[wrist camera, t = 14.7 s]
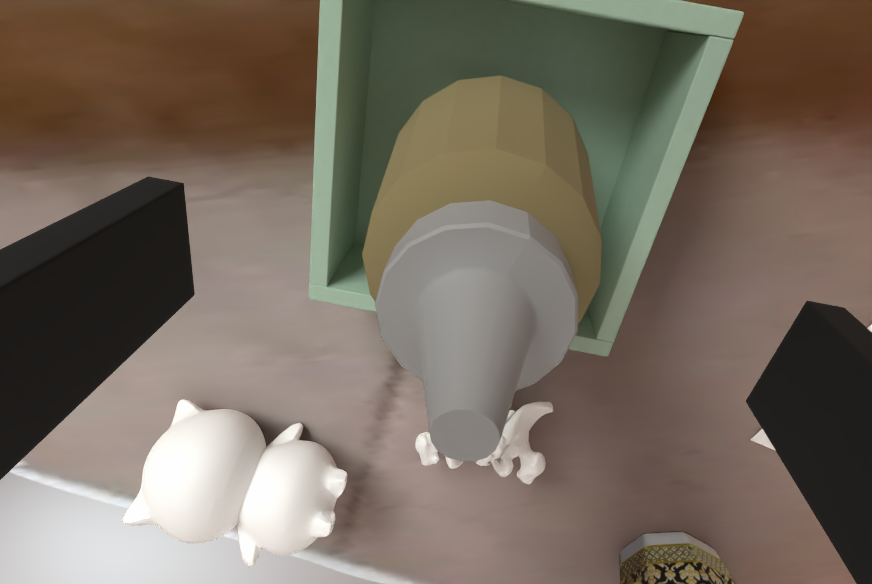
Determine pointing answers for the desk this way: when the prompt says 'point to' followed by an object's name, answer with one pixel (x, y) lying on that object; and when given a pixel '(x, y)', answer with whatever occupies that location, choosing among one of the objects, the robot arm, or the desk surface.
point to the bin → (530, 63)
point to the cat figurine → (237, 484)
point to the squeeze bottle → (483, 252)
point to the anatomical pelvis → (503, 445)
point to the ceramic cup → (671, 561)
